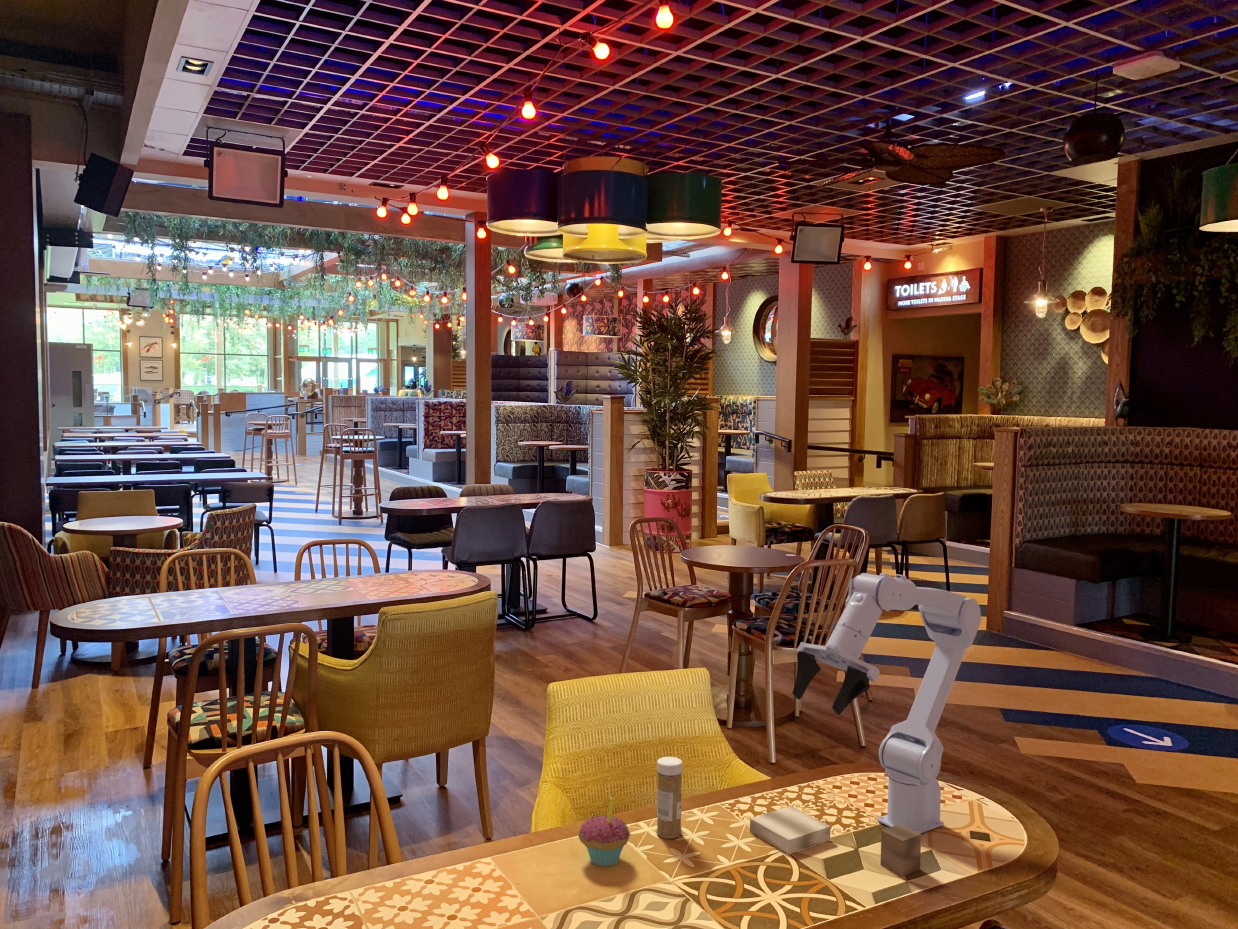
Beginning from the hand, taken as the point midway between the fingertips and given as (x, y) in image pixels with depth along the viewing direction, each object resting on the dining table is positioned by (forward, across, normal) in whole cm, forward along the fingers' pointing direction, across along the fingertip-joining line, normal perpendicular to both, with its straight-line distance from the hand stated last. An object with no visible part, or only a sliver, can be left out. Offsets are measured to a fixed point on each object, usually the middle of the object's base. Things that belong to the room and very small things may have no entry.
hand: (815, 704), depth 149 cm
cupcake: (+38, -23, +3) cm, 45 cm away
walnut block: (+13, +13, +26) cm, 32 cm away
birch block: (+17, -6, +25) cm, 31 cm away
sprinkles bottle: (+28, -22, +14) cm, 38 cm away
